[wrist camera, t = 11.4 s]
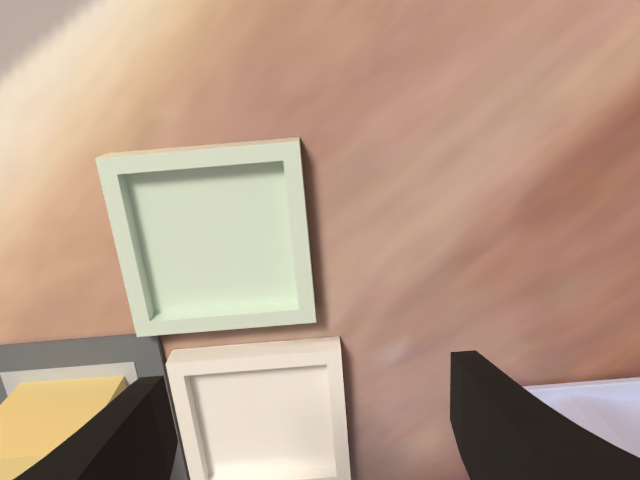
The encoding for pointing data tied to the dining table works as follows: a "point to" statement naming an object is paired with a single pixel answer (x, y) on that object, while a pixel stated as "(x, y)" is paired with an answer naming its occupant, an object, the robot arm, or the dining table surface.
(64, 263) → the dining table surface
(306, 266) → the dish green
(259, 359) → the dish white
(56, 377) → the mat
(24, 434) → the letter cube
